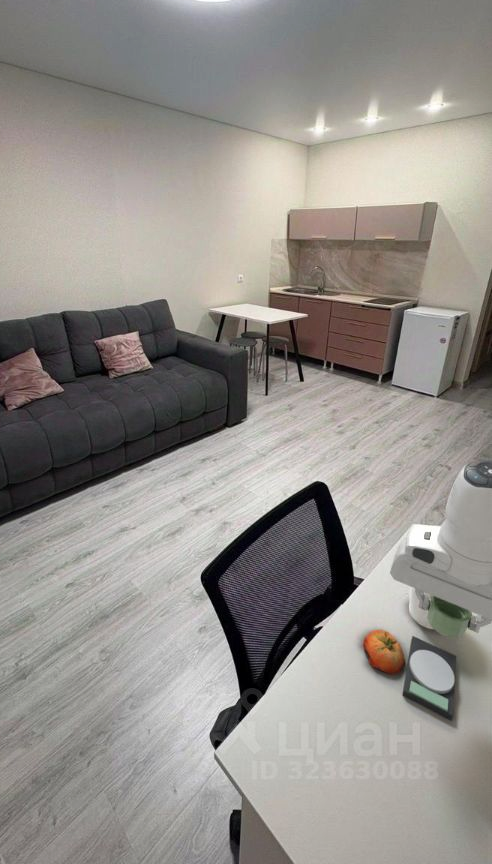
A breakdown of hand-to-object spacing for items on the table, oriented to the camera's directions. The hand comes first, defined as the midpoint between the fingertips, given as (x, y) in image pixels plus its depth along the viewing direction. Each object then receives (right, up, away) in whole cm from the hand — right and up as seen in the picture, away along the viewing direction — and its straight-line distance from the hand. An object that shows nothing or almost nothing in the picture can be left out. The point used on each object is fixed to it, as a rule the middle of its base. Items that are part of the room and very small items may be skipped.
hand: (446, 616), depth 70 cm
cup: (+5, -11, +18) cm, 21 cm away
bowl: (0, -2, +1) cm, 2 cm away
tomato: (-7, -14, +10) cm, 18 cm away
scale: (0, -15, +6) cm, 16 cm away
